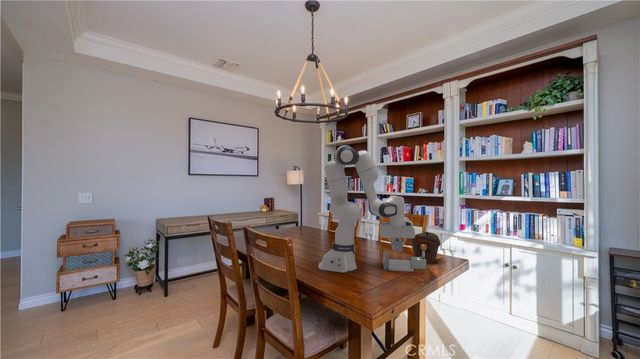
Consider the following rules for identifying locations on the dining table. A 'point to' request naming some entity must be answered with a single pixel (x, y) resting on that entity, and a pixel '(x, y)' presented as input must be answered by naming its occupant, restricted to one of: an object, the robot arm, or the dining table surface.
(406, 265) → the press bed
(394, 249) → the block
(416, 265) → the ram guide
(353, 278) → the dining table surface
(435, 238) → the case
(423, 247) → the ram
